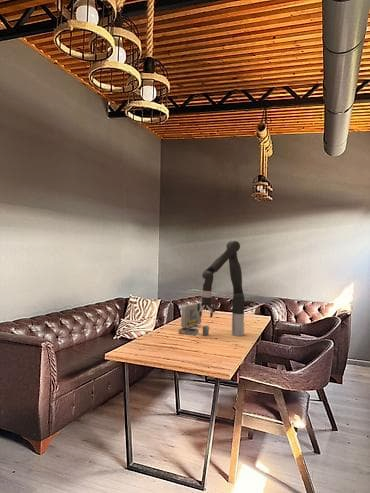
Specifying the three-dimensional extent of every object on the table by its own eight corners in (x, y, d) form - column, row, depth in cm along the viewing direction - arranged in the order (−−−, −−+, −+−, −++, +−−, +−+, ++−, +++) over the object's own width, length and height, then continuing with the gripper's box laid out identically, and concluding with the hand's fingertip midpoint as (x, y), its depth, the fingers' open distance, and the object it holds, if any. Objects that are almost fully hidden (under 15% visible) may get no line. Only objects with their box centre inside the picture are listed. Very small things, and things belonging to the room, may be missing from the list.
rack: (198, 333, 314) (198, 329, 314) (193, 335, 305) (193, 331, 305) (183, 331, 319) (183, 327, 319) (178, 333, 310) (178, 329, 310)
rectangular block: (208, 334, 310) (208, 325, 310) (206, 336, 304) (206, 327, 304) (204, 334, 311) (205, 325, 311) (202, 335, 305) (202, 326, 305)
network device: (195, 324, 347) (195, 302, 347) (203, 326, 342) (204, 303, 342) (178, 329, 326) (179, 305, 326) (187, 330, 321) (188, 306, 321)
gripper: (216, 296, 308) (215, 317, 308) (200, 295, 314) (199, 315, 314) (213, 297, 301) (212, 318, 301) (196, 296, 307) (195, 316, 307)
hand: (205, 316), depth 308 cm, fingers open, 8 cm apart
